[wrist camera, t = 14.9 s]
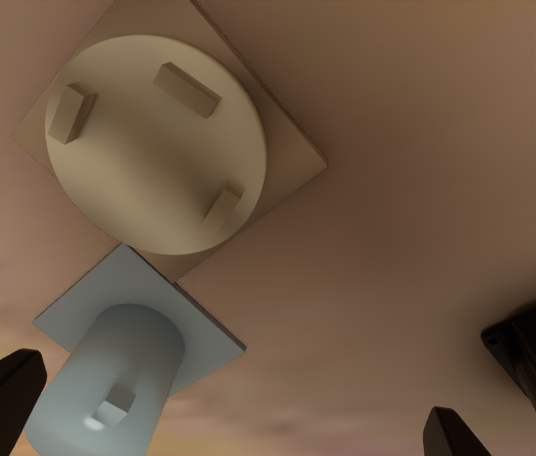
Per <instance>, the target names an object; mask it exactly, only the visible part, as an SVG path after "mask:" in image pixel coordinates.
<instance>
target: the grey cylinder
mask: <svg viewBox="0 0 536 456" xmlns="http://www.w3.org/2000/svg"><path fill="white" fill-rule="evenodd" d="M184 354H185V343H184V339H183V336H182V334H181V332H180V331H179V329H178V328H177V327H176V325H175V324H174V323H173V322H172V321H171V320H170V319H168V318H167V317H166V316H164V315H163V314H161V313H160V312H158V311H156V310H154V309H151V308H149V307H146V306H142V305H137V304H119V305H115V306H112V307H109V308H107V309H106V310H104V311H103V312H102V313H101V314H100V315H99V316H98V317H97V319H96V320H95V321H94V323H93V324H92V325H91V327H90V328H89V330H88V331H87V332H86V334H85V335H84V337H83V338H82V339H81V341H80V342H79V343H78V345H77V346H76V348H75V349H74V350H73V352H72V353H71V354H70V356H69V357H68V359H67V360H66V361H65V363H64V364H63V365H62V367H61V368H60V370H59V371H58V372H57V374H56V375H55V376H54V378H53V379H52V381H51V382H50V383H49V385H48V386H47V387H46V389H45V390H44V392H43V393H42V394H41V396H40V397H39V399H38V401H37V403H36V405H35V407H34V409H33V411H32V413H31V415H30V417H29V419H28V421H27V423H26V425H25V427H24V431H25V434H26V437H27V439H28V441H29V443H30V444H31V445H32V447H33V448H34V449H35V450H36V451H37V452H38V453H39V454H40V455H41V456H145V454H146V451H147V448H148V446H149V443H150V441H151V438H152V436H153V433H154V431H155V428H156V426H157V423H158V421H159V418H160V415H161V413H162V410H163V408H164V405H165V403H166V400H167V398H168V395H169V393H170V390H171V388H172V385H173V382H174V380H175V377H176V375H177V372H178V370H179V367H180V365H181V362H182V360H183V357H184Z"/></svg>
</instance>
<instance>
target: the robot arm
mask: <svg viewBox="0 0 536 456" xmlns="http://www.w3.org/2000/svg"><path fill="white" fill-rule="evenodd" d="M491 338H494V339H492V340H489V339H491ZM481 339H482V341H483V343H484V345H485V347H486V348H487V349H488V350H489V351H490V353H491V354H492V355H493V356H494V357H495V359H496V360H497V361H498V362H499V363H500V365H501V366H502V367H503V368H504V370H505V371H506V372H507V373H508V374H509V376H510V377H511V378H512V379H513V380H514V382H515V383H516V384H517V385H518V386H519V388H520V389H521V390H522V391H523V392H524V394H525V395H526V396H527V397H528V398H529V400H530V401H531V403H532V405H533V407H534V409H535V411H536V308H534V309H532V310H530V311H527V312H525V313H523V314H521V315H519V316H517V317H514V318H512V319H510V320H508V321H506V322H504V323H502V324H499V325H497V326H495V327H493V328H491V329H489V330H486V331H485V332H483V333H482V335H481ZM46 381H47V372H46V369H45V365H44V362H43V358H42V355H41V353H40V352H39V351H38V350H33V349H26V348H23V349H19V350H17V351H15V352H13V353H12V354H10V355H8V356H6V357H4V358H3V359H1V360H0V456H9V455H10V453H11V451H12V450H13V448H14V446H15V444H16V442H17V440H18V439H19V437H20V435H21V433H22V431H23V429H24V427H25V425H26V423H27V421H28V419H29V417H30V415H31V413H32V411H33V409H34V407H35V405H36V403H37V401H38V399H39V397H40V395H41V392H42V390H43V388H44V386H45V384H46ZM423 446H424V455H425V456H491V454H490V453H489V452H488V451H487V449H486V448H485V447H484V446H483V444H482V443H481V442H480V441H479V440H478V438H477V437H476V436H475V435H474V433H473V432H472V431H471V430H470V428H469V427H468V426H467V425H466V424H465V422H464V421H463V420H462V419H461V417H460V416H459V415H458V414H457V413H456V411H454V410H453V409H451V408H445V407H438V406H435V407H433V408H432V410H431V412H430V414H429V417H428V420H427V422H426V425H425V427H424V431H423Z"/></svg>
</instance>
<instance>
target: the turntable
mask: <svg viewBox="0 0 536 456" xmlns="http://www.w3.org/2000/svg"><path fill="white" fill-rule="evenodd" d="M45 136H46V143H47V149H48V153H49V157H50V161H51V164H52V166H53V169H54V171H55V174H56V176H57V178H58V180H59V182H60V184H61V186H62V188H63V189H64V191H65V192H66V194H67V195H68V197H69V198H70V200H71V201H72V202H73V203H74V205H75V206H76V207H77V208H78V209H79V211H80V212H81V213H82V214H83V215H84V216H85V217H86V218H87V219H88V220H89V221H91V222H92V223H93V224H94V225H95V226H97V227H98V228H99V229H100V230H102V231H103V232H105V233H106V234H108V235H109V236H111V237H113V238H114V239H116V240H118V241H120V242H122V243H124V244H127V245H129V246H131V247H134V248H137V249H140V250H143V251H147V252H152V253H157V254H167V255H181V254H190V253H196V252H200V251H203V250H206V249H209V248H211V247H214V246H216V245H218V244H220V243H222V242H223V241H225V240H226V239H228V238H229V237H231V236H232V235H233V234H234V233H235V232H236V231H238V230H239V229H240V228H241V226H242V225H243V224H244V223H245V222H246V221H247V219H248V218H249V216H250V214H251V213H252V211H253V210H254V208H255V205H256V203H257V201H258V199H259V196H260V193H261V190H262V187H263V184H264V180H265V176H266V169H267V144H266V137H265V132H264V129H263V125H262V121H261V119H260V116H259V114H258V112H257V109H256V107H255V105H254V103H253V101H252V100H251V98H250V96H249V94H248V93H247V91H246V90H245V88H244V87H243V86H242V84H241V83H240V82H239V80H238V79H237V78H236V77H235V76H234V75H233V74H232V73H231V72H230V71H229V70H228V69H227V68H226V67H225V66H224V65H223V64H221V63H220V62H219V61H218V60H217V59H215V58H214V57H213V56H211V55H209V54H208V53H206V52H205V51H203V50H201V49H200V48H198V47H195V46H193V45H191V44H189V43H187V42H184V41H181V40H178V39H174V38H171V37H166V36H160V35H142V34H138V35H130V36H123V37H117V38H111V39H108V40H105V41H102V42H99V43H97V44H95V45H93V46H91V47H89V48H87V49H85V50H84V51H83V52H81V53H80V54H79V55H77V56H76V57H75V58H73V59H72V61H71V62H70V63H69V64H68V65H67V66H66V67H65V68H64V69H63V71H62V72H61V74H60V75H59V77H58V78H57V80H56V82H55V84H54V86H53V89H52V91H51V93H50V97H49V100H48V104H47V109H46V117H45Z"/></svg>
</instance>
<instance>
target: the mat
mask: <svg viewBox="0 0 536 456" xmlns="http://www.w3.org/2000/svg"><path fill="white" fill-rule="evenodd" d="M119 304H137V305H142V306H146V307H149V308H151V309H154V310H156V311H158V312H160V313H161V314H163V315H164V316H166V317H167V318H168V319H170V320H171V321H172V322H173V323H174V324H175V325H176V327H177V328H178V329H179V331H180V332H181V334H182V336H183V339H184V343H185V354H184V357H183V360H182V362H181V365H180V367H179V370H178V372H177V375H176V377H175V380H174V382H173V385H172V388H171V390H170V393H169V395H168V397H170V396H171V395H173V394H175V393H176V392H178V391H180V390H182V389H183V388H185V387H187V386H188V385H190V384H192V383H193V382H195V381H197V380H199V379H200V378H202V377H204V376H205V375H207V374H209V373H210V372H212V371H214V370H216V369H217V368H219V367H221V366H222V365H224V364H226V363H228V362H229V361H231V360H233V359H234V358H236V357H238V356H239V355H241V354H243V353H245V351H246V347H245V346H244V345H243V344H242V343H241V342H240V341H238V340H237V339H236V338H235V337H234V336H233V335H232V334H231V333H230V332H229V331H227V330H226V329H225V328H224V327H223V326H222V325H221V324H220V323H219V322H218V321H216V320H215V319H214V318H213V317H212V316H211V315H210V314H209V313H208V312H207V311H205V310H204V309H203V308H202V307H201V306H200V305H199V304H198V303H197V302H196V301H194V300H193V299H192V298H191V297H190V296H189V295H188V294H187V293H186V292H185V291H183V290H182V289H181V288H180V287H179V286H178V285H177V284H176V283H175V282H174V283H171V282H170V281H169V280H168V279H167V278H166V277H165V276H164V275H163V274H162V273H160V272H159V271H158V270H157V269H156V268H155V267H154V266H153V265H152V264H150V263H149V262H148V261H147V260H146V259H145V258H144V257H143V256H142V255H141V254H139V253H138V252H137V251H136V250H135V249H134V248H133V247H131V246H129V245H127V244H124V243H121V244H120V245H119V246H118V247H117V248H115V249H114V250H113V251H112V252H111V253H110V254H109V255H107V256H106V257H105V258H104V259H103V260H102V261H101V262H100V263H98V264H97V265H96V266H95V267H94V268H93V269H92V270H90V271H89V272H88V273H87V274H86V275H85V276H84V277H83V278H81V279H80V280H79V281H78V282H77V283H76V284H75V285H73V286H72V287H71V288H70V289H69V290H68V291H67V292H66V293H64V294H63V295H62V296H61V297H60V298H59V299H58V300H56V301H55V302H54V303H53V304H52V305H51V306H50V307H49V308H47V309H46V310H45V311H44V312H43V313H42V314H41V315H39V316H38V317H37V318H36V319H35V320H34V321H33V322H32V324H33V325H34V326H36V327H37V328H38V329H40V330H41V331H42V332H43V333H45V334H46V335H47V336H49V337H50V338H51V339H53V340H54V341H55V342H57V343H58V344H59V345H60V346H62V347H63V348H64V349H66V350H67V351H68V352H70V353H72V352H73V350H74V349H75V348H76V346H77V345H78V343H79V342H80V341H81V339H82V338H83V337H84V335H85V334H86V332H87V331H88V330H89V328H90V327H91V325H92V324H93V323H94V321H95V320H96V319H97V317H98V316H99V315H100V314H101V313H102V312H103V311H104V310H106V309H107V308H109V307H112V306H115V305H119Z"/></svg>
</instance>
